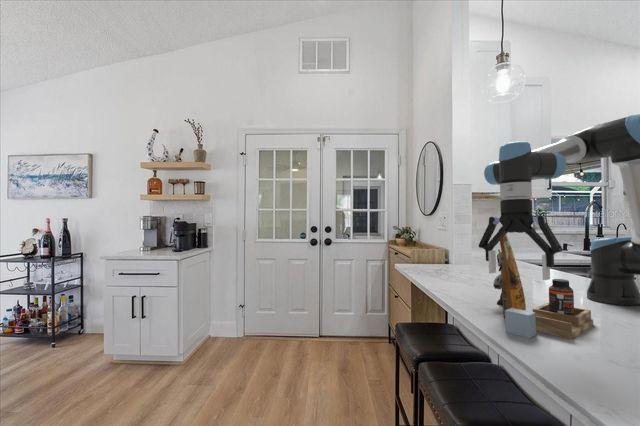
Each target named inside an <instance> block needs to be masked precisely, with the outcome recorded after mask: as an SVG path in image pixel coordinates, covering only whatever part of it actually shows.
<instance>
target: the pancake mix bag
mask: <svg viewBox="0 0 640 426" xmlns="http://www.w3.org/2000/svg"><path fill="white" fill-rule="evenodd" d="M499 245H500V251H501V250H502V251H501V252H502V256H503V260H502V279H501V282H502V288H501V292H502V302H503V306H502V311H503V319H505V310H507V309H510V308H515V309H520V310H525V311H527V310H526V309H527V307H526V297H525V293H524V288H523V284H522V280H521V276H520V272H519V268H518V264H517V261H516V257H515V254H514V252H513V247H512V245H511V243H510V240H509V237H508V233H506V234H505V236H504V237H503V238H502V239H501V240H500V241H499Z"/></svg>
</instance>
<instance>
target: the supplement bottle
mask: <svg viewBox="0 0 640 426" xmlns="http://www.w3.org/2000/svg"><path fill="white" fill-rule="evenodd" d="M551 282H552V283H551V285H550V286H549V287H548V303H549V312H555V313H560V314H565V315H570V316H574V308H575V295H574V289H573V288H572V287H571V286H570V281H569V280H568V279H565V278H564V279H563V278H553V279H552V281H551Z"/></svg>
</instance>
